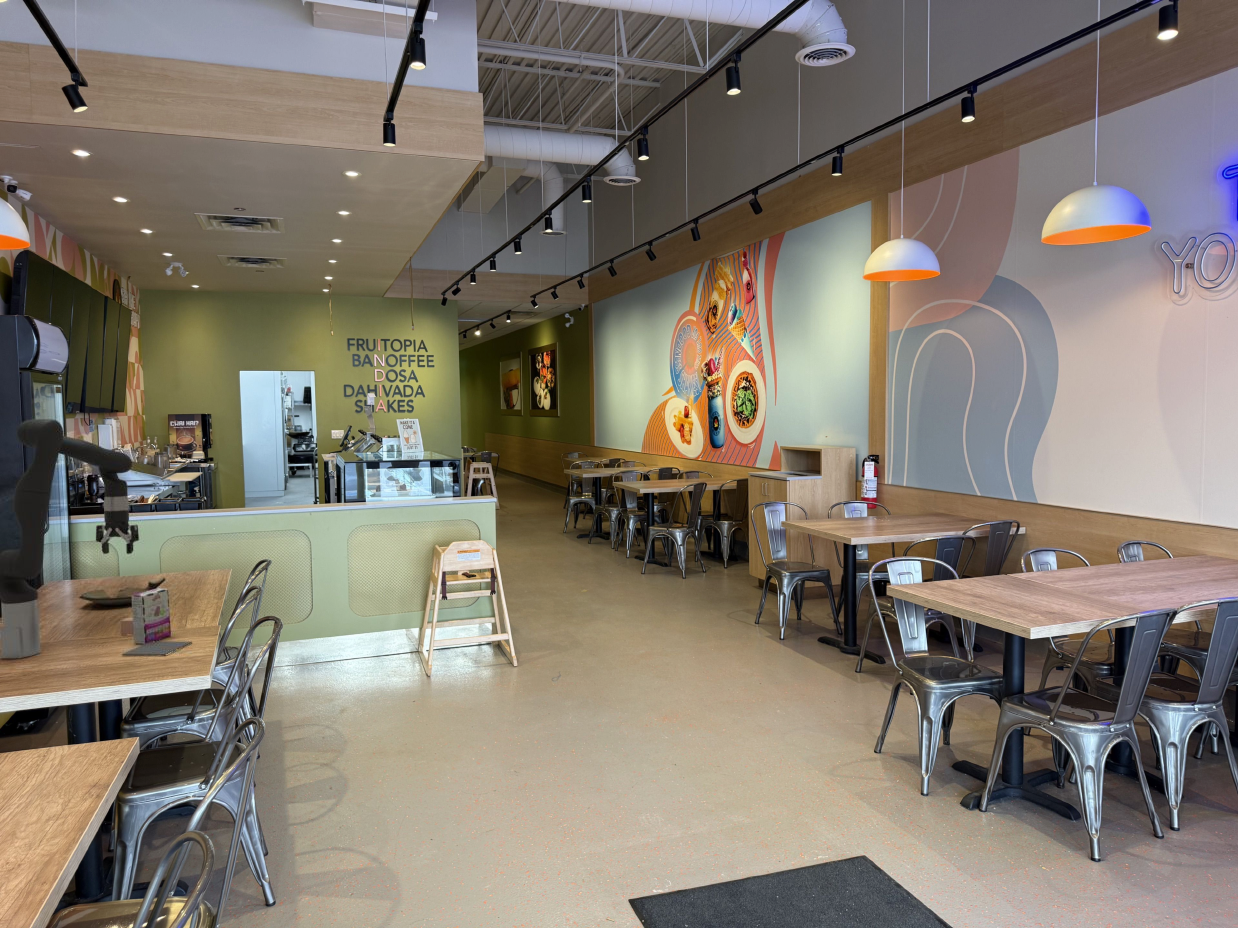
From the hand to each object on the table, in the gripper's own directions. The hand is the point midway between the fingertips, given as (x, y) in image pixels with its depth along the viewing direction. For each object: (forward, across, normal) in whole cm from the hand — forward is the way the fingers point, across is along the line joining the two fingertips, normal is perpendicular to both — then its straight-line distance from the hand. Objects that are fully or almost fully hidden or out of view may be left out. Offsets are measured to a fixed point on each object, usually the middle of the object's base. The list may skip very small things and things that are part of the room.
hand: (117, 553), depth 285 cm
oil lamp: (+25, -20, +32) cm, 46 cm away
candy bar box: (+26, +25, -22) cm, 42 cm away
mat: (+26, +34, -33) cm, 54 cm away
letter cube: (+26, +13, -13) cm, 32 cm away
